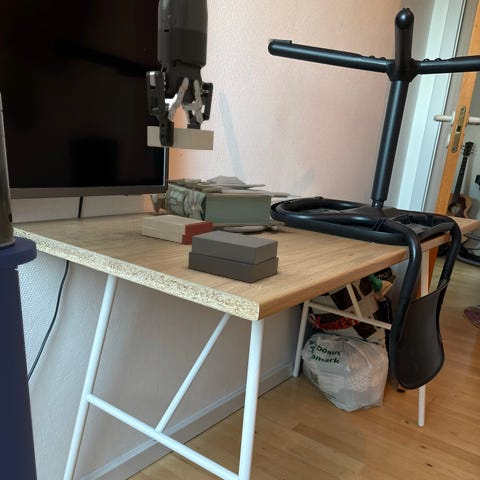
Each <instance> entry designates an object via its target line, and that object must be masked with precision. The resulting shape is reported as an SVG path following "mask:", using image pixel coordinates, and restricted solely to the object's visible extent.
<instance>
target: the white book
mask: <svg viewBox="0 0 480 480" xmlns="http://www.w3.org/2000/svg"><path fill="white" fill-rule="evenodd" d="M159 135H160V134H159V126H153V125H151V126H150V125H147V146H148V147H158V148H170V149H178V150H179V149H181V150H192V151H193V150H195V151H214V139H215V138H214V136H215V131H214V130H209V129H208V130H207V129H201V130H199V129H187V127H186V128H184V127H174V144H173V146H172V147H166V146H161V144H160V139H159Z"/></svg>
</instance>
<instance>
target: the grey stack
mask: <svg viewBox="0 0 480 480" xmlns="http://www.w3.org/2000/svg"><path fill="white" fill-rule="evenodd" d="M278 248H279V240H276V239H270V238H264V237H259V236H254V235H247V234H242V233H237V232H225V231H212V232H209V233H205V234H200V235H196V236H192V244H191V249H190V250H191V251H189V252H188V264H187V265H188V266H187V267H188V269H192V270H195V271H199V272H203V273H204V272H205V273H208V274H212V275H216V276H221V277H224V278H229V279H233V280H237V281H241V282H245V283H250V284H251V283H255V282H256V281H260V280H262V279H265V278H268V277H270V276H273V275H277V274H278V270H279V269H278V268H279V260H280V258H279V257H278Z"/></svg>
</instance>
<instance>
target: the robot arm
mask: <svg viewBox="0 0 480 480" xmlns="http://www.w3.org/2000/svg"><path fill="white" fill-rule="evenodd" d="M157 9H158V11H157V61H158V62H159V63H160V64H161V69H160V71H158V70H151V71H147V72H146V73H145V80H146V89H147V90H146V92H147V94H146V95H147V104H148V113H149V115H151V116H154V117H156V118H157V120H158V121H159V124H158V127H159V134H160V135H159V139H160V144H161V146H166V147H165V148H168V147H172V146H173V144H174V128H175V121H173V120H174V119H175V116H176V113H177V110H178V109H179V108H180V107H181V108H182V110H183V111H184V112H185V115H186V119H187V124H186V129H199V130H202V129H201V128H202V127H201V126H202V124H203V123H204V122H205V121H207V122H208V121H210V119H211V112H212V111H211V110H212V104H213V103H212V102H213V93H214V84H213V82H206V81H204V80H203V78H202V73H201V72H202V69H203V68H204V67H206V65H207V59H208V58H207V55H208V54H207V53H208V29H209V27H208V26H209V11H208V10H209V9H208V0H159V1H158V8H157ZM156 99H157V100H156ZM203 106H204V108H203ZM202 108H203V109H204V110H203V109H202ZM3 109H4V108H3V99H2V92H1V91H0V250H1V249H6V248H9V247H12V246H14V245H15V237H14V236H15V233H14V232H15V229H14V219H13V210H12V202H11V201H12V200H11V190H10V178H9V166H8V154H7V145H6V132H5V123H4V112H3ZM202 110H203V111H202ZM193 112H194V113H193Z"/></svg>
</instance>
